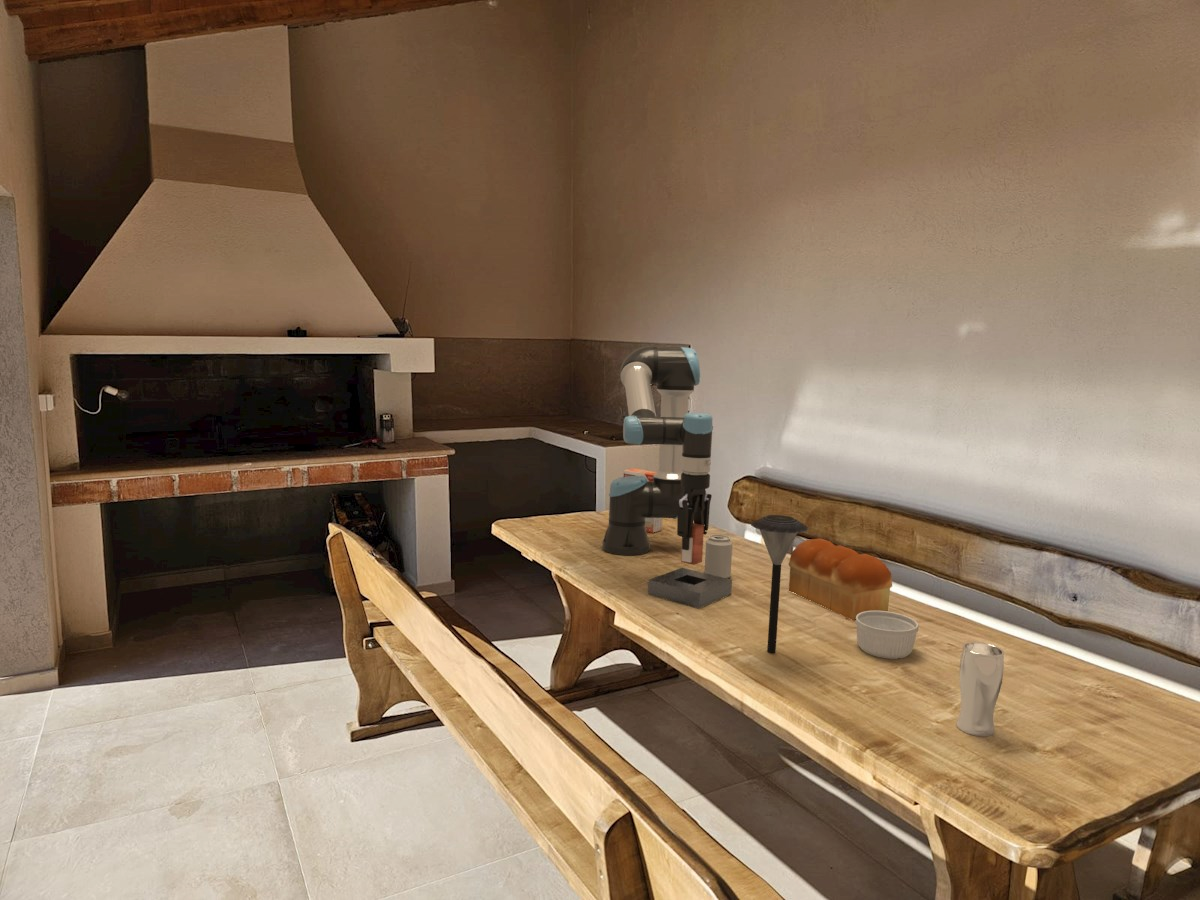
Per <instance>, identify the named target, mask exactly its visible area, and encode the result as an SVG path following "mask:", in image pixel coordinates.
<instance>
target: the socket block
mask: <svg viewBox="0 0 1200 900" xmlns="http://www.w3.org/2000/svg"><path fill="white" fill-rule="evenodd" d="M647 582H648V583H647V585H648V587H647V595H648V594H649V596H653V597H656V598H659V597H660V599H663V598H664V599H663V600H666V599H667V601H670V602H675V603H678V604H681V605H685V606H688V605H689V606H688V607H692V608H695V607H696V608H697V609H701V608H704V607H705V606H706V607H707V606H708V605H710V604H712V602H713V603H715V602H717V601H719V600H721V598H722V599H723V597H724V598H725V597H728V596H730V595H729V594H731V595H732V589H733V588H732V586H733V580H732V579H730V578H723V577H719V576H714V575H710V574H706V573H704V572H702V571H697V570H695V569H694V570H693V569H688V568H685V567H680V568H677V569H674V570H671V571H669V572H666V573H663V574H660V575H657V576H655V577H652V578H649V579H648V581H647ZM703 606H704V607H703Z"/></svg>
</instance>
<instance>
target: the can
mask: <svg viewBox="0 0 1200 900" xmlns="http://www.w3.org/2000/svg"><path fill="white" fill-rule="evenodd" d="M704 553H705V554H704V555H705V557H704V572H703V573H706V574H710V575H714V576H719V577H723V578H727V579H729V578H730V577H731V574H732V559H733V558H732V557H733V542H732V540H731V536H729V535H725V534H718V533H717V534H715V533H714V534H710V535H708V539H706V541H705V551H704Z"/></svg>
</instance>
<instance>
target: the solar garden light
mask: <svg viewBox="0 0 1200 900" xmlns="http://www.w3.org/2000/svg"><path fill="white" fill-rule="evenodd" d="M750 526H751V527H753V528H755V529H757V530H759V532H760V534H761V537H762V539H763V540H762V541H763V542H764V544H765V547H766V550H767V553H768V555H769V558H770V560H771V563H772V568H771V569H772V570H771V586H770V602H769V617H768V618H769V619H768V630H767V631H768V632H767V633H768V635H767V647H766V648H767V650H766V651H767V653H768V654H776V652H777V651H776V650H777V637H778V636H777V635H778V621H779V607H780V606H779V605H780V590H781V589H780V588H781V576H782V574H781V572H782V563H784V560H785V557H786V556H787V554H788V552H789V551H790V548H791V546H792V544H793V543H794V541H795V539H796V537H797V535H798V534H800V533H805V532H807V531H809V527H808V526H807V525H805V524H804V523H802V522H801V521H799V520H798V519H796V518H794V517H792V516H788V515H782V514H769V515H766V516H763V517H761V518H759V519H756V520H755V521H753V522H750Z"/></svg>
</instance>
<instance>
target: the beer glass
mask: <svg viewBox="0 0 1200 900" xmlns="http://www.w3.org/2000/svg"><path fill="white" fill-rule="evenodd" d="M1004 654H1005V651H1004V650H1003V649H1001V647H998V646H997V645H994V644H990V643H986V642H979V641H970V642H969V641H968V642H965V643H963V645H962V651H961V656H960V662H959V670H958V671H959V674H958V675H959V677H958V678H959V679H958V680H959V689H960V690H959V691H960V704H961V705H960V711H959V715H958V717H957V722H956V726H957V728H958V730H960V731H962V732H964V733H966V734H968V735H971V736H975V737H981V738H982V737H983V738H987V737H991V736H993V735H994V734H995V723H994V711H995V707H996V706H997V701H998V697H999V695H1000V691H1001V689H1002V684H1003V677H1004V660H1005V659H1004V658H1005V657H1004V656H1005V655H1004Z"/></svg>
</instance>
